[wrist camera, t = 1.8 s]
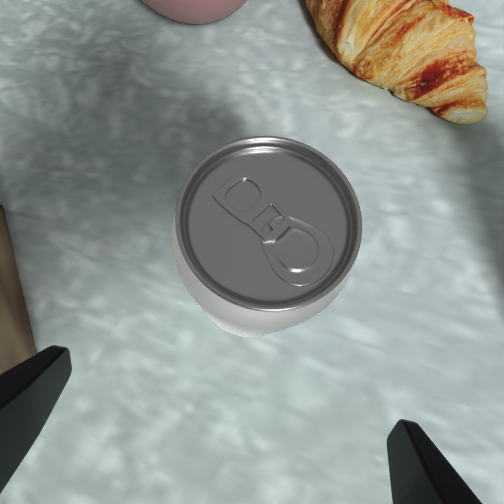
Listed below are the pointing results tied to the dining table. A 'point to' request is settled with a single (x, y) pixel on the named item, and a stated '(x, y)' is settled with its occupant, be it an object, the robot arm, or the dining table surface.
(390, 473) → the robot arm
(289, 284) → the can
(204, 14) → the mortar and pestle
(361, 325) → the dining table surface
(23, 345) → the cradle
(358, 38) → the croissant
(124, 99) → the dining table surface
